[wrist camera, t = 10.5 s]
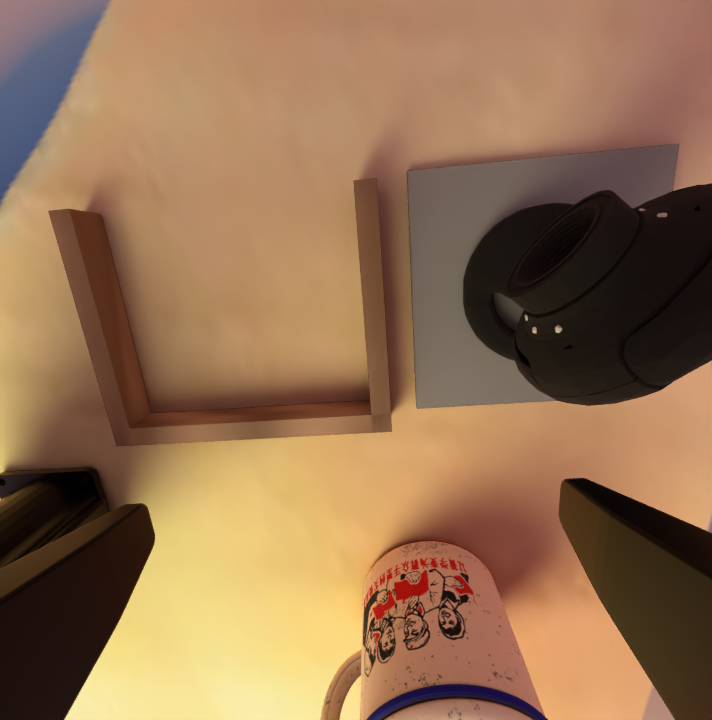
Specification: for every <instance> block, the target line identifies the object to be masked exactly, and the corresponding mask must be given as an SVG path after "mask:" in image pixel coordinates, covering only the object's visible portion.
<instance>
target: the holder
mask: <svg viewBox="0 0 712 720" xmlns="http://www.w3.org/2000/svg"><path fill="white" fill-rule="evenodd" d="M354 193H355V206H356V219H357V233H358V246H359V259H360V272H361V285H362V298H363V311H364V325H365V338H366V351H367V364H368V377H369V390H370V400H367V401H350V402H333V403H316V404H299V405H283V406H266V407H249V408H232V409H215V410H198V411H181V412H165V413H151V409H150V405H149V401H148V397H147V393H146V389H145V385H144V381H143V377H142V373H141V369H140V365H139V362H138V358H137V354H136V350H135V346H134V342H133V338H132V334H131V330H130V326H129V322H128V318H127V314H126V310H125V306H124V303H123V299H122V295H121V291H120V287H119V283H118V279H117V275H116V271H115V267H114V263H113V259H112V255H111V251H110V247H109V244H108V240H107V236H106V232H105V228H104V224H103V220H102V216H101V214H97V213H91V212H85V211H79V210H73V209H62V210H52V211H48V212H49V215H50V218H51V222H52V225H53V229H54V232H55V236H56V239H57V243H58V246H59V249H60V253H61V256H62V260H63V263H64V267H65V270H66V274H67V277H68V280H69V284H70V287H71V291H72V294H73V298H74V301H75V305H76V308H77V311H78V315H79V318H80V322H81V325H82V329H83V332H84V336H85V339H86V342H87V346H88V349H89V353H90V356H91V360H92V363H93V367H94V370H95V373H96V377H97V380H98V384H99V387H100V391H101V394H102V398H103V401H104V404H105V408H106V411H107V415H108V418H109V422H110V425H111V429H112V432H113V435H114V439H115V442H116V446H133V445H151V444H170V443H189V442H207V441H226V440H245V439H263V438H282V437H301V436H319V435H338V434H357V433H375V432H392V424H391V407H390V391H389V374H388V357H387V341H386V324H385V308H384V291H383V274H382V258H381V241H380V225H379V208H378V191H377V178H375V179H365V180H355V181H354Z"/></svg>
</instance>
